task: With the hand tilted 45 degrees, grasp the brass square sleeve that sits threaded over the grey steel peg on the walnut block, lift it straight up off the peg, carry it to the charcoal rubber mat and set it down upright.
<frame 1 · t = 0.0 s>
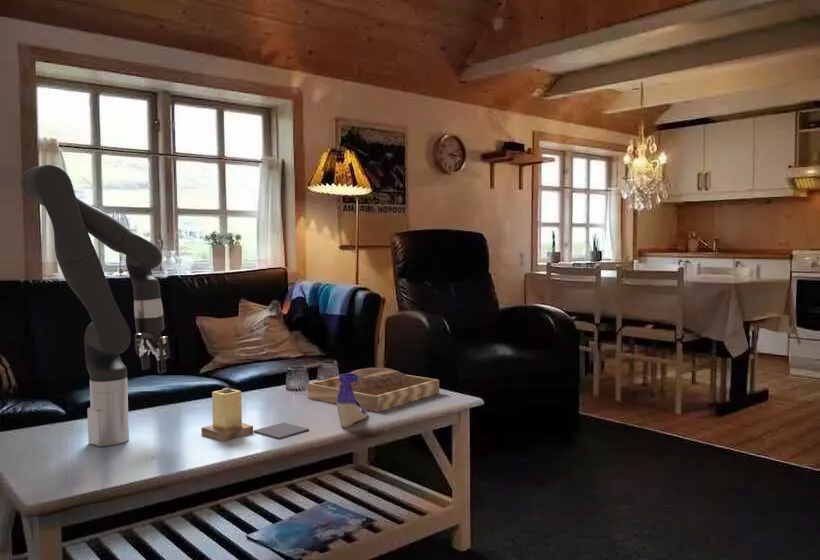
hand: (154, 371, 191), 17 cm above the table, tool pointing down, fingers open, 8 cm apart
purple spray bottle: (350, 421, 202), on the table
sleeve: (227, 426, 188), point 2 cm above the table, touching peg stand
peg stand: (227, 433, 188), on the table
mat: (281, 431, 190), on the table
bread: (374, 397, 234), resting in bread tray
bread tray: (374, 395, 233), on the table
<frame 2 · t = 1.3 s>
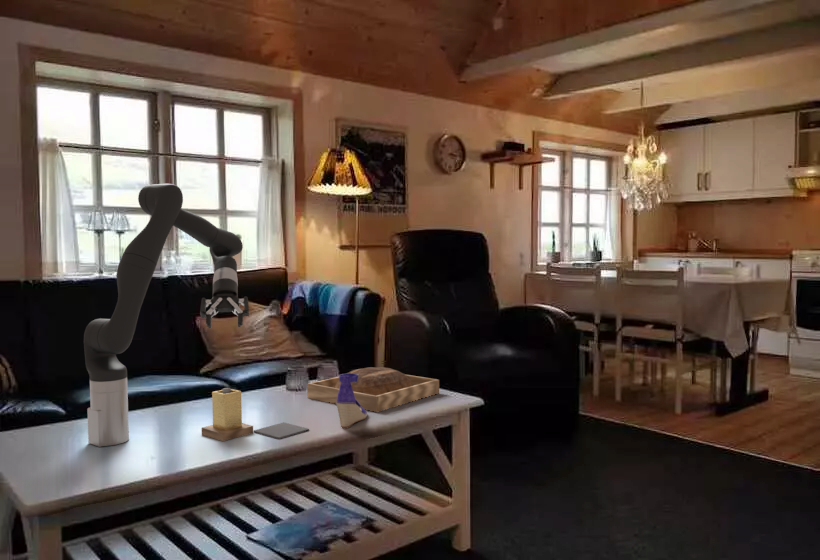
hand: (224, 326, 200), 29 cm above the table, tool tilted 45°, fingers open, 8 cm apart
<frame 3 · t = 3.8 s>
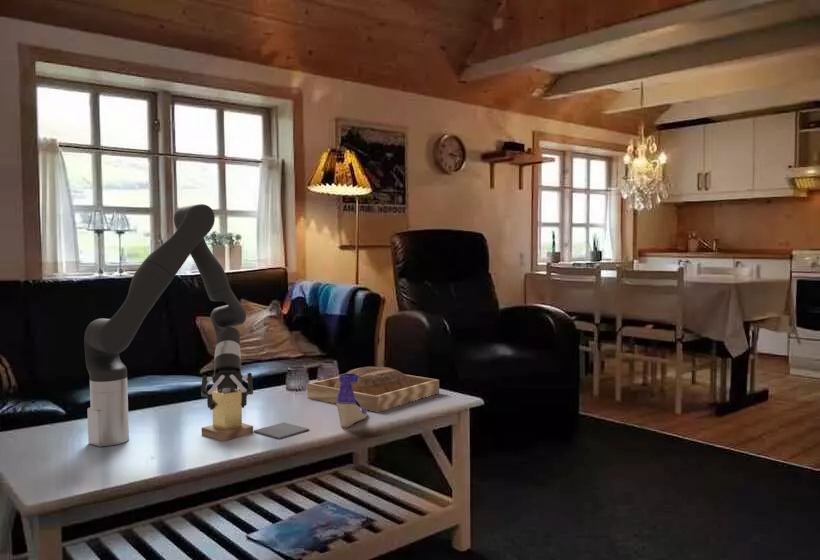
hand: (227, 407, 187), 8 cm above the table, tool tilted 45°, fingers closed on sleeve, 8 cm apart
sleeve: (227, 426, 188), point 2 cm above the table, touching gripper, peg stand
bread: (372, 395, 236), resting in bread tray
everything else where it was.
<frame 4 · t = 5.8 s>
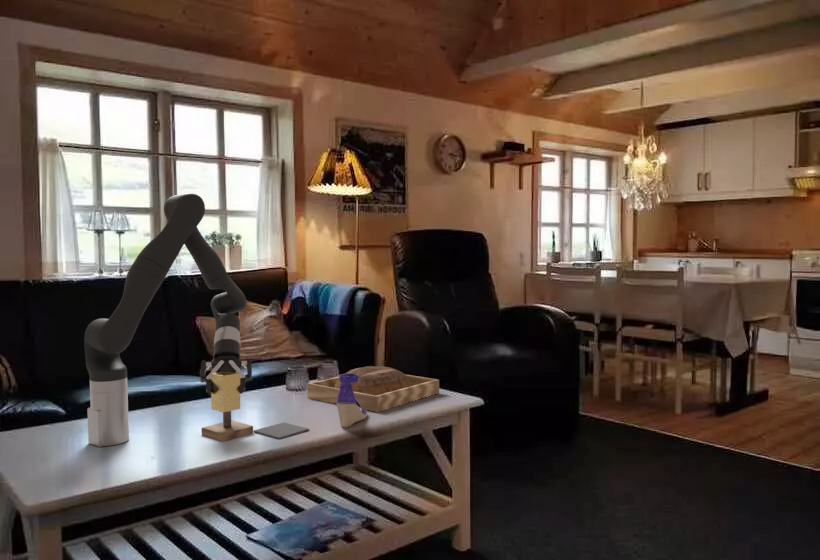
hand: (225, 392, 186), 12 cm above the table, tool tilted 45°, fingers closed on sleeve, 8 cm apart
sleeve: (225, 408, 187), point 7 cm above the table, touching gripper
bread: (372, 395, 236), resting in bread tray
everything else where it was.
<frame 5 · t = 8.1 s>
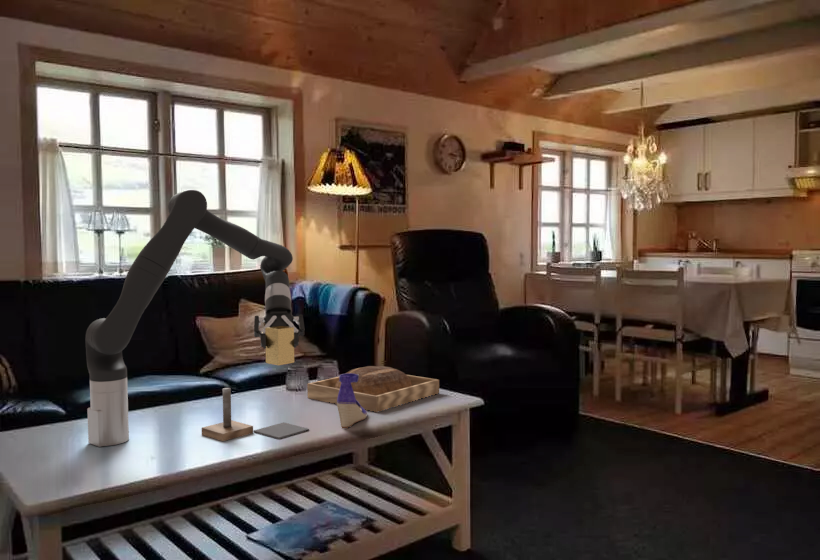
hand: (280, 346, 187), 24 cm above the table, tool tilted 45°, fingers closed on sleeve, 8 cm apart
sleeve: (280, 362, 189), point 20 cm above the table, touching gripper
bread: (373, 395, 236), resting in bread tray
everything else where it was.
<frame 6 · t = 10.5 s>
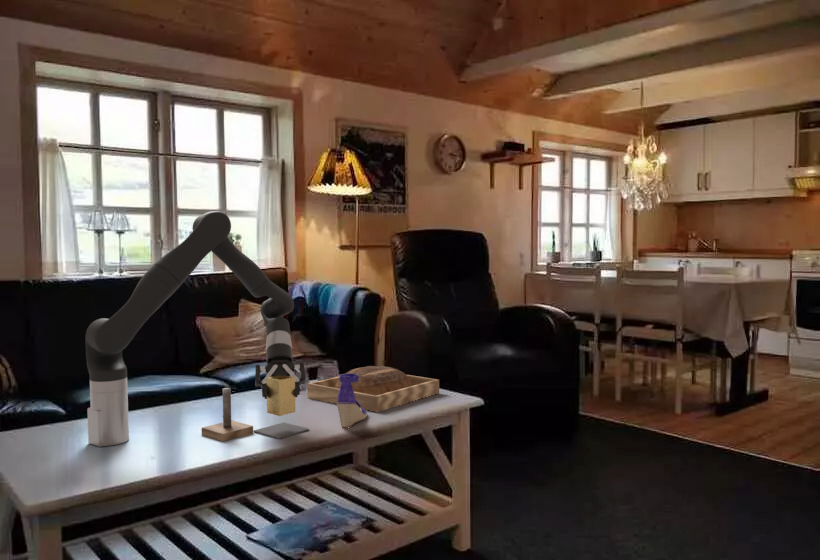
hand: (281, 396, 188), 10 cm above the table, tool tilted 45°, fingers closed on sleeve, 8 cm apart
sleeve: (281, 412, 189), point 5 cm above the table, touching gripper
everything else where it was.
when the fingers open (7 cm above the table, at t = 12.1 s): sleeve drops 1 cm, resting on mat.
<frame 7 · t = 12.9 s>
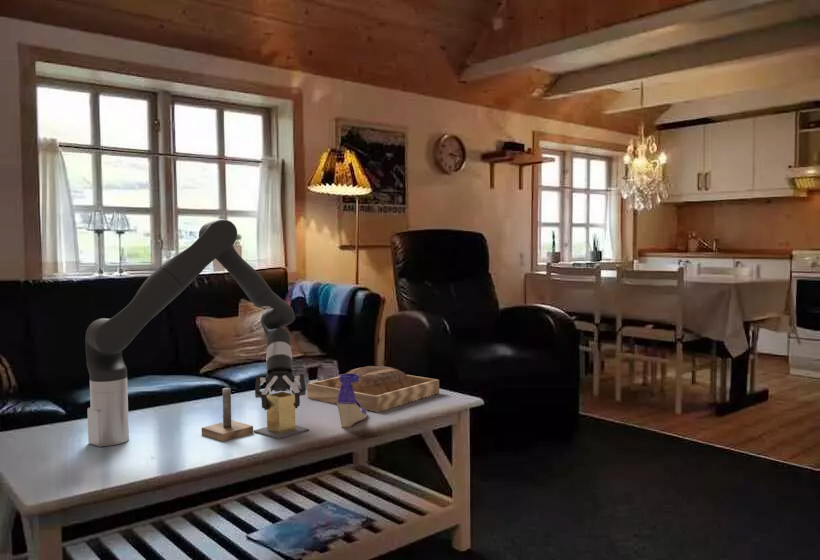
hand: (281, 407, 189), 7 cm above the table, tool tilted 45°, fingers open, 8 cm apart
sleeve: (281, 429, 190), point 1 cm above the table, touching mat
everything else where it was.
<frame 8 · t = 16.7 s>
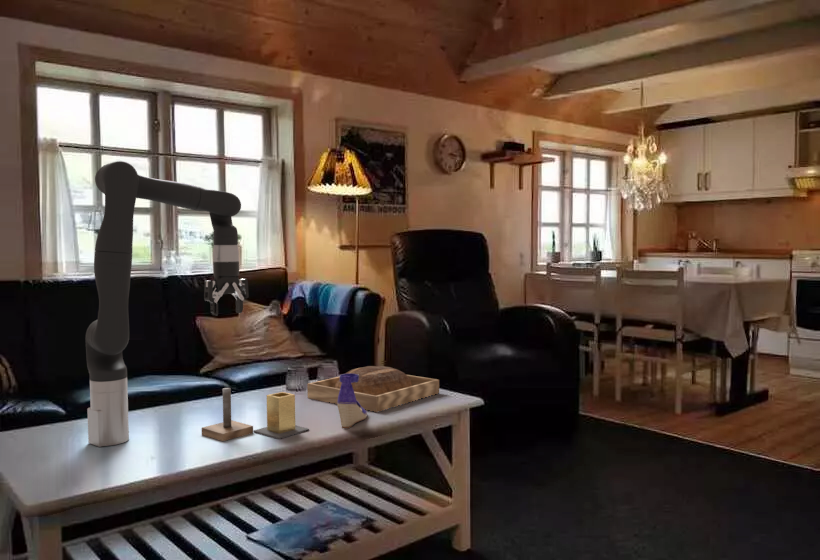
hand: (227, 314, 202), 32 cm above the table, tool pointing down, fingers open, 8 cm apart
nothing on the table moved.
at the end: sleeve 0.1 cm from the mat (horizontally); sleeve point 0.5 cm above the table; sleeve tilted 0° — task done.
